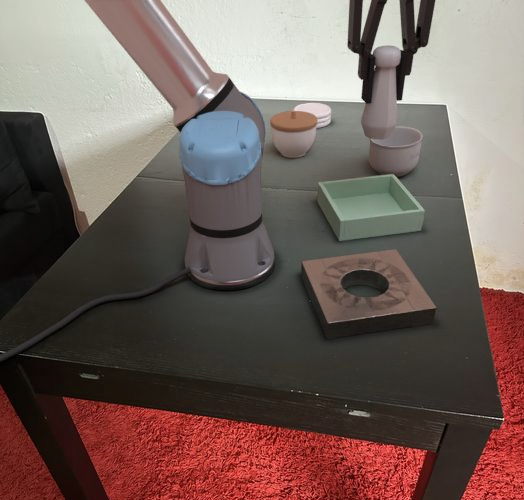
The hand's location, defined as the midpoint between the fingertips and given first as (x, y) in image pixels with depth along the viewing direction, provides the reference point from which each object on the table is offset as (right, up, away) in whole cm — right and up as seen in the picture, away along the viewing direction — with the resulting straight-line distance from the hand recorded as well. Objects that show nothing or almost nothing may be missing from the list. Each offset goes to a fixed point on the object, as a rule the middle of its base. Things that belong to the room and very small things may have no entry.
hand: (381, 99), depth 83 cm
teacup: (+10, 0, +33) cm, 34 cm away
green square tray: (+1, -14, +17) cm, 23 cm away
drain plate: (-3, -32, -2) cm, 32 cm away
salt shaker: (0, -4, +4) cm, 6 cm away
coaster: (-6, +20, +55) cm, 59 cm away
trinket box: (-12, +7, +41) cm, 43 cm away
